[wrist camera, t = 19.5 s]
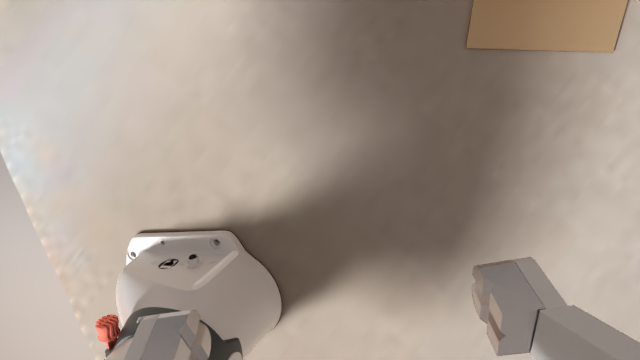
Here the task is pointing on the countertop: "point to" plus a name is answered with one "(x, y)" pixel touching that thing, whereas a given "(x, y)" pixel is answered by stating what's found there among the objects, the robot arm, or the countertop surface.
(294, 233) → the countertop surface
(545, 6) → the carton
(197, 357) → the robot arm
